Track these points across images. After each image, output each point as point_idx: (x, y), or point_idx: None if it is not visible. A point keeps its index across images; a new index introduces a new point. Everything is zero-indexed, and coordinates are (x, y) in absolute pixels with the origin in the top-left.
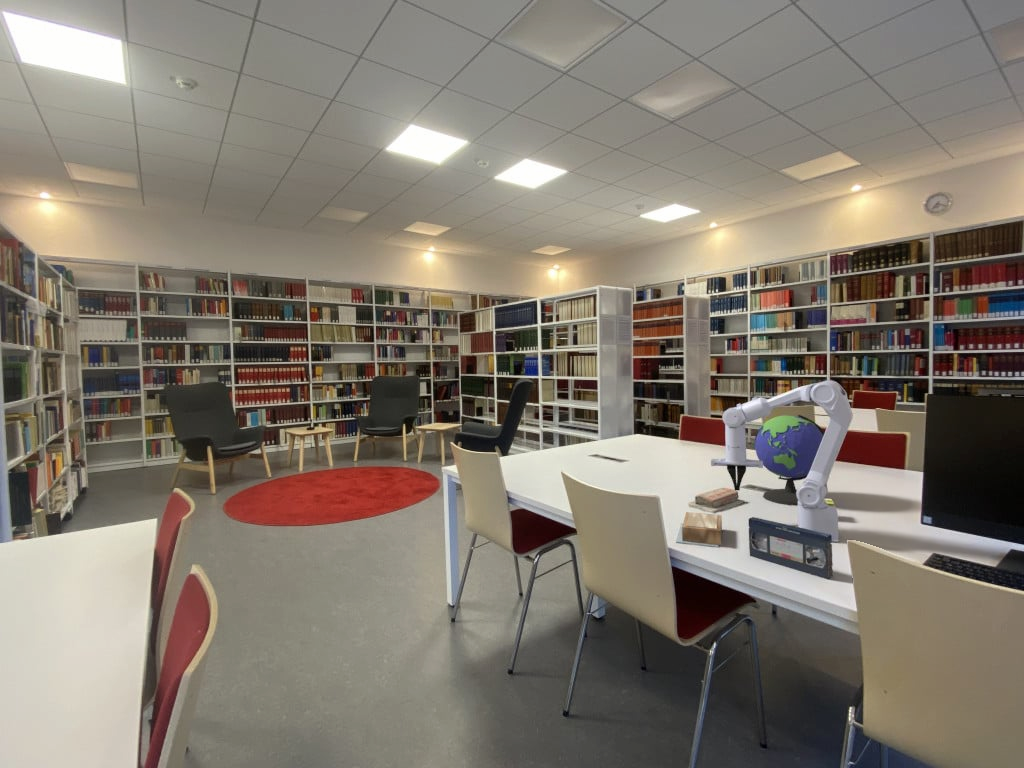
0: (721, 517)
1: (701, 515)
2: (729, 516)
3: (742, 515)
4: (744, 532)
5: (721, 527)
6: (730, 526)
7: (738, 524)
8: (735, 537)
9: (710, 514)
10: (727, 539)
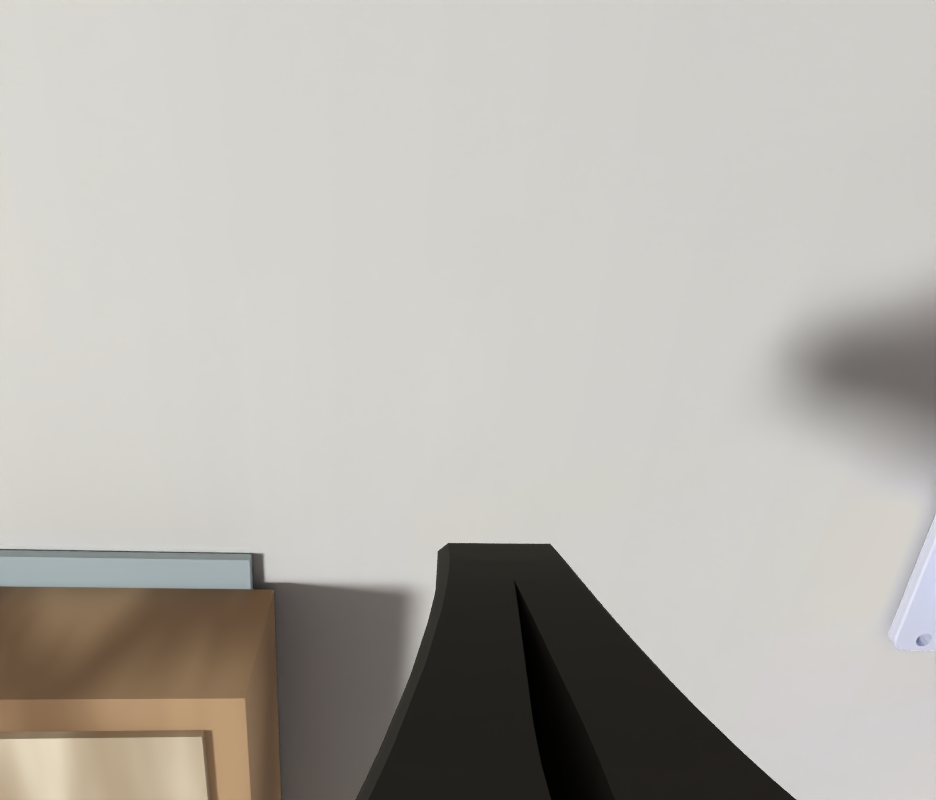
0: (250, 696)
1: (14, 790)
2: (355, 100)
3: (535, 5)
4: None
5: (268, 728)
6: (359, 483)
7: (446, 401)
8: None
9: (111, 706)
10: (329, 776)
